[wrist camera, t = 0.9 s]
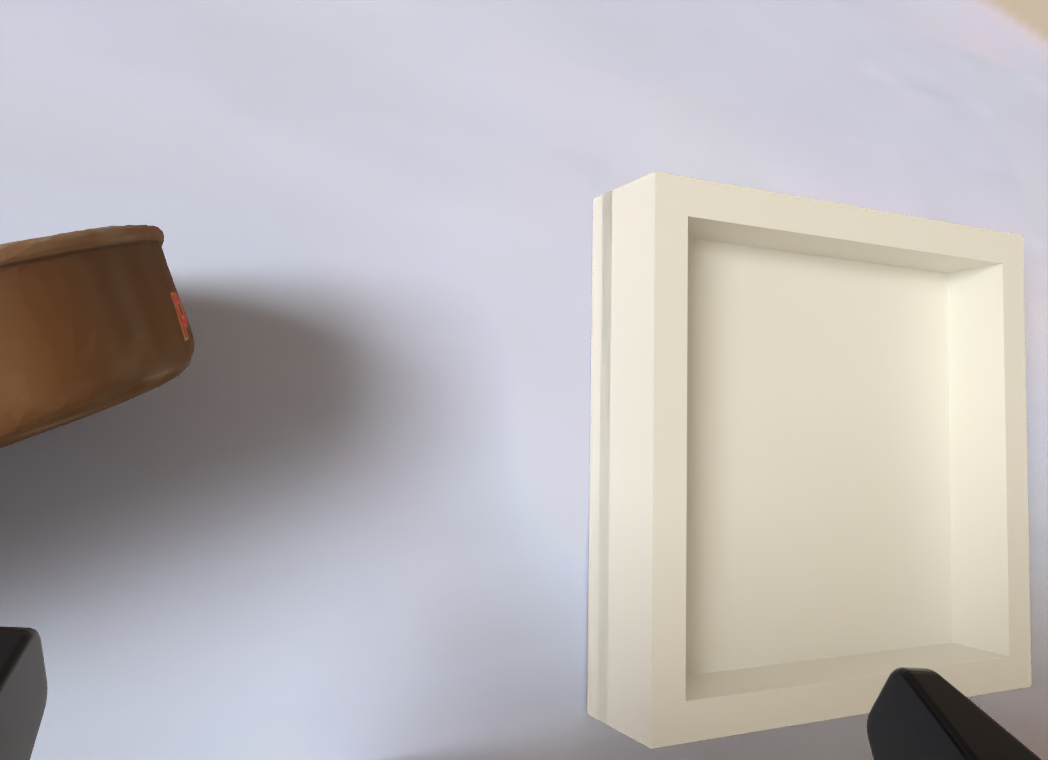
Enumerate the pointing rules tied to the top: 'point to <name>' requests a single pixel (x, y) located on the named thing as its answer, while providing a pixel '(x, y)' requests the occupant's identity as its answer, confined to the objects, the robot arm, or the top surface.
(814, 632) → the tray
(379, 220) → the top surface
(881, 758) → the robot arm
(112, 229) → the tin
